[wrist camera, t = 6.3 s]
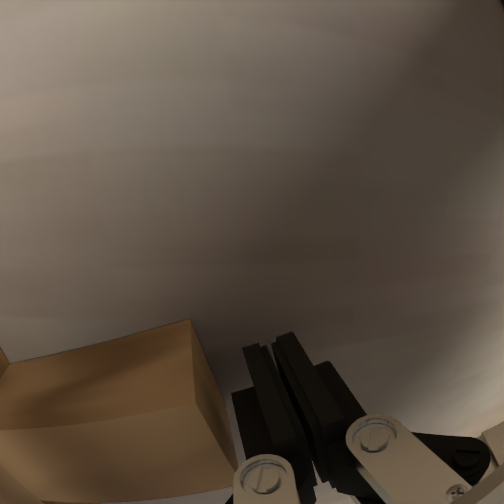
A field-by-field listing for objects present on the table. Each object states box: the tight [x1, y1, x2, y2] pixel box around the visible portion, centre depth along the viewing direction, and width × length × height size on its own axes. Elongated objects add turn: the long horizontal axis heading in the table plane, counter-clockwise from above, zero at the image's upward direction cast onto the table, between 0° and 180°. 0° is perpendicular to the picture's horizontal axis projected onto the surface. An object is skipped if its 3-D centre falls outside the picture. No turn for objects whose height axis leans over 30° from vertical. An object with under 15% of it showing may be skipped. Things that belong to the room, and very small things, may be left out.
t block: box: [0, 319, 238, 504], centre depth 8 cm, size 12×12×4 cm
